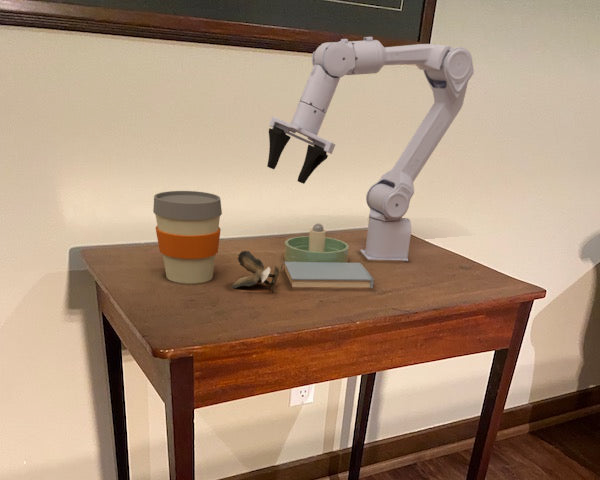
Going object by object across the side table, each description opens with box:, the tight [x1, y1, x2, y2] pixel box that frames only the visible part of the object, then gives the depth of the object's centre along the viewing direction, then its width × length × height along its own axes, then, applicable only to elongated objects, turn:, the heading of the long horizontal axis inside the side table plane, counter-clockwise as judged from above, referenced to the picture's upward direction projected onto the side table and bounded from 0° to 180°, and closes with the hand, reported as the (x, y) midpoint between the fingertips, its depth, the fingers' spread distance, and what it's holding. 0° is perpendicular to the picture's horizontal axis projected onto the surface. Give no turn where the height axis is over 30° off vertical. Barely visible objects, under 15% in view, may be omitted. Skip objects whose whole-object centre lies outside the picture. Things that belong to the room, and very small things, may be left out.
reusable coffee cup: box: [152, 190, 223, 285], centre depth 117 cm, size 13×13×15 cm
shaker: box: [308, 223, 327, 252], centre depth 132 cm, size 4×4×8 cm
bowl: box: [283, 235, 350, 263], centre depth 133 cm, size 14×14×4 cm
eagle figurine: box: [231, 250, 284, 293], centre depth 115 cm, size 8×7×9 cm
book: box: [283, 261, 375, 289], centre depth 122 cm, size 16×11×2 cm
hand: (285, 175), depth 125 cm, fingers open, 7 cm apart
